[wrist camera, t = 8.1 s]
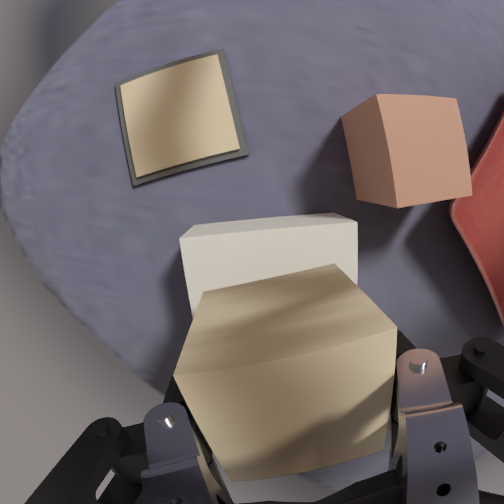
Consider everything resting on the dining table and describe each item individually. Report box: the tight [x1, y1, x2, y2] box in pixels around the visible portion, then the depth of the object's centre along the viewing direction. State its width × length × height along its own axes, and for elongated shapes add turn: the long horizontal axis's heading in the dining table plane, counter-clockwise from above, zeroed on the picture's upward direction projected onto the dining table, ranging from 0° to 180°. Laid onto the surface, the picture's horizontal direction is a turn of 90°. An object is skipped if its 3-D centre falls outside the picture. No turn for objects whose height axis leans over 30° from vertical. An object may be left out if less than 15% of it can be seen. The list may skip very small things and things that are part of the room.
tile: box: [115, 49, 249, 186], centre depth 14 cm, size 7×7×1 cm
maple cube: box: [173, 263, 397, 482], centre depth 9 cm, size 5×5×5 cm
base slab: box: [179, 213, 358, 318], centre depth 15 cm, size 8×8×4 cm
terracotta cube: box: [341, 94, 472, 208], centre depth 13 cm, size 5×5×5 cm
